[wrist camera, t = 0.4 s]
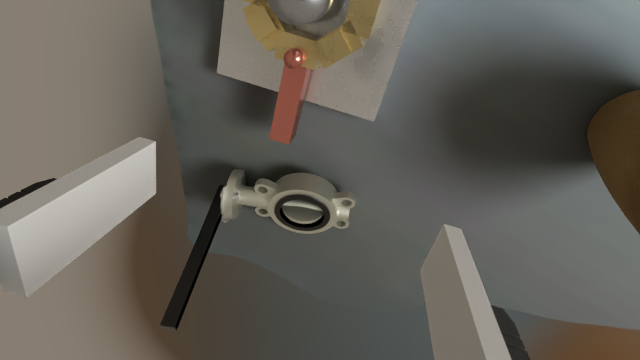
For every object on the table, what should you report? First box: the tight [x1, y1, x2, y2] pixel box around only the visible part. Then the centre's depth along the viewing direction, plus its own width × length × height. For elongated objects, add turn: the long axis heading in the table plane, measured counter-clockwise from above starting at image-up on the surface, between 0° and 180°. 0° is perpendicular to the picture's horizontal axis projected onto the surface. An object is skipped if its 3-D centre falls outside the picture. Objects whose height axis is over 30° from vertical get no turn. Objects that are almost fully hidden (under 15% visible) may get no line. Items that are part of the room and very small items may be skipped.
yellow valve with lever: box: [242, 0, 381, 145], centre depth 31 cm, size 20×12×5 cm, turn 165°
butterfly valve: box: [160, 169, 356, 330], centre depth 37 cm, size 9×20×17 cm
